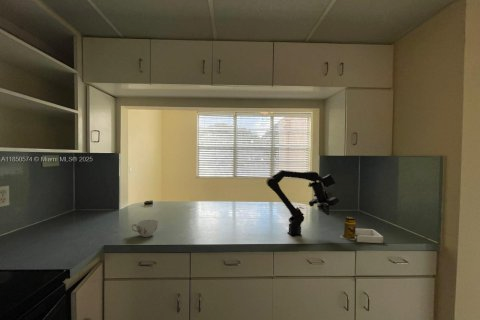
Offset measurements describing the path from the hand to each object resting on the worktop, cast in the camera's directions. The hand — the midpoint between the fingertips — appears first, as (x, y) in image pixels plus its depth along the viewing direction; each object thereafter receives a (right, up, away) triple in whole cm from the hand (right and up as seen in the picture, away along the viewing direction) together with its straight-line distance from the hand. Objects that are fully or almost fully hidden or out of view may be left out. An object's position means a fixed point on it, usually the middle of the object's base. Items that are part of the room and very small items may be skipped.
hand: (328, 214), depth 155 cm
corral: (+20, -13, -5) cm, 24 cm away
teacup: (-109, -11, -6) cm, 109 cm away
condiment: (+10, -13, -4) cm, 17 cm away
